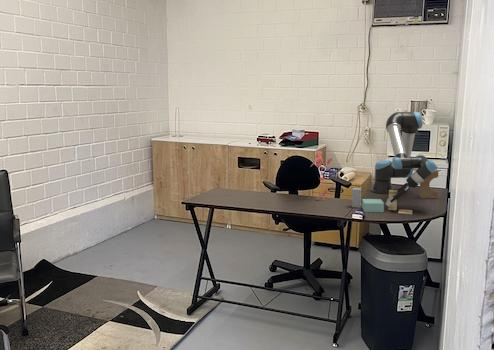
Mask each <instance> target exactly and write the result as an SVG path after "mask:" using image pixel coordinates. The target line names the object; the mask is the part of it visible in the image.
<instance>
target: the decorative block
mask: <svg viewBox="0 0 494 350" xmlns="http://www.w3.org/2000/svg"><path fill="white" fill-rule="evenodd" d="M439 173H440V172H439V170H438V168H437V169H436V170H435V171H434V173H432V174H431V175H430V176H428V177H427V178H426V179H425V180H423V181H424V182H421V183H420V184H419V195H418V196H419V198H420V199H426V198H428V199H434V200H435V199H438V191H437V190H435V189H432V188H431V187H430V184H431V183H430V182H431V181H432V180H434V179H437V178H439Z"/></svg>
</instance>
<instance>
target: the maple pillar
mask: <svg viewBox="0 0 494 350" xmlns="http://www.w3.org/2000/svg"><path fill="white" fill-rule="evenodd" d="M397 190H398V189H393V190H389V193H388V198H389V200H390V199H391V198H392V197H393V196H395V195H396V194H397ZM387 207H388V208H387V209H388V211H397V210H398V200H396V201H394V202H393V203H392V204H391V205H390V206H387Z"/></svg>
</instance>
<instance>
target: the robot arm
mask: <svg viewBox="0 0 494 350" xmlns="http://www.w3.org/2000/svg"><path fill="white" fill-rule="evenodd" d="M422 128H423V117H422V114H421V113H420V112H419V111H397V112H394V113H392V114H391V115H390V116H389V117H388V118H387V120H386V123H385V130H386V132H387V133H388V136H389V140H390V143H391V148H392V152H393V158H392V160H390V159H387V160H385V159H384V160H380V161H376V163H375V164H374V165H375V166H374V183H373V185H372V188H371V189H372V190H371V191H372V192H373V193H375V194H381V195H382V194H385V195H386V194H389V190H394V189H393V184H392V179H399V178H400V179H402V178H403V179H405V181H406V182H405V183H404V184H403V185H402V186H401V187H399V188H398V189H396V190H397V194H396V195H395V196H393V197H392V198H391V199H390V200H389V197H388V198H387V199H386V202H385V203H384V205H386V206H387V207H388V206H390V205H391V204H392V203H393V202H394V201H396V200H397V201H398V199H400V198H401V197H402V196H403V195H404V194H405V193H407V192H408V191H409V190H410V189H411V187H412V188H413V189H415V188H417V187H418V186H419V185H420V183H421V182H424V181H423V180H425V179H426V178H427V177H428V176H430V175H431V174H432V173H434V171H435V170H436V169H437V170H438V165H437V164H436V162H434V161H433V160H432V159H428V158H427V157H426V156H425V155H424V154H417V155H416V156H412V151H413V145H414V142H415V137H416V134H417V133H418V132H419V130H420V129H422ZM414 170H415V171H414Z"/></svg>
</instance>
